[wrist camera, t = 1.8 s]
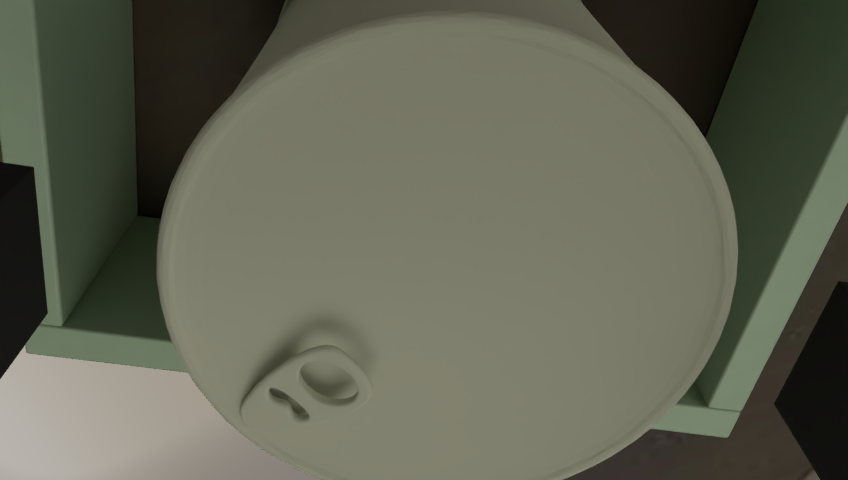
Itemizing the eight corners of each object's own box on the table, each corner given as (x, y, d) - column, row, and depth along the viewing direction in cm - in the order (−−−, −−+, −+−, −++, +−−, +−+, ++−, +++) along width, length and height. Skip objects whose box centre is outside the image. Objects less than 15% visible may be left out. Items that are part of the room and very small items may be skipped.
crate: (82, -277, 17) (-58, -311, 12) (845, -127, 19) (1003, -100, 14) (107, 237, 24) (25, 353, 19) (666, 312, 26) (728, 438, 21)
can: (205, 43, 21) (5, 271, 11) (474, -177, 19) (549, -151, 8) (401, 265, 25) (392, 591, 15) (648, 108, 22) (851, 373, 12)
